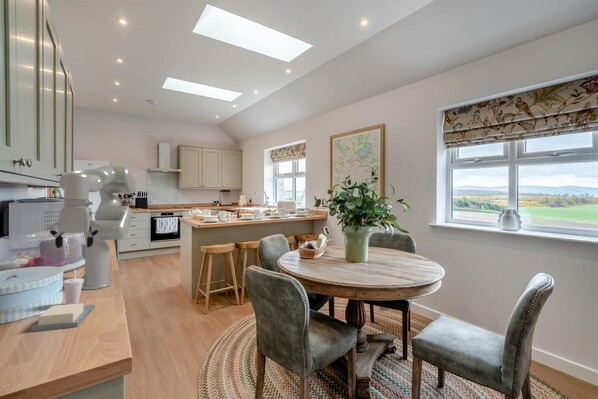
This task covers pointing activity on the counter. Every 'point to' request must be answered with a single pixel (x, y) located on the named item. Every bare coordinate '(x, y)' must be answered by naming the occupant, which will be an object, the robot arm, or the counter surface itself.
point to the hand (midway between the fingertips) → (74, 247)
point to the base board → (65, 325)
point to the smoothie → (73, 289)
